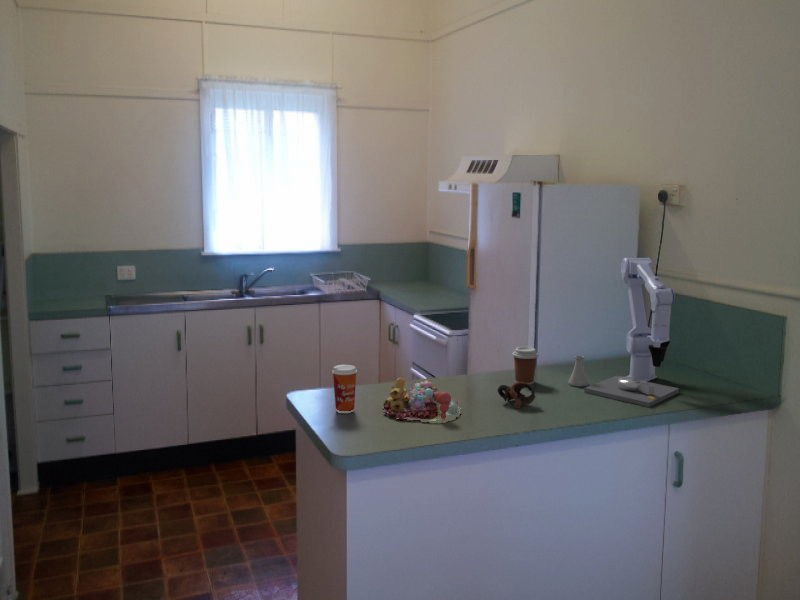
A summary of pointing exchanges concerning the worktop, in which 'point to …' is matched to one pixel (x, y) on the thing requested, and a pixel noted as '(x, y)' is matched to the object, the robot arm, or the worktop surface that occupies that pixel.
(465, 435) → the worktop surface
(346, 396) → the paper cup
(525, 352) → the coffee cup
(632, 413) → the worktop surface
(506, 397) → the brown pretzel
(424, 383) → the candy landscape model
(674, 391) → the base plate
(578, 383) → the flask
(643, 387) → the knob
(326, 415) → the worktop surface
